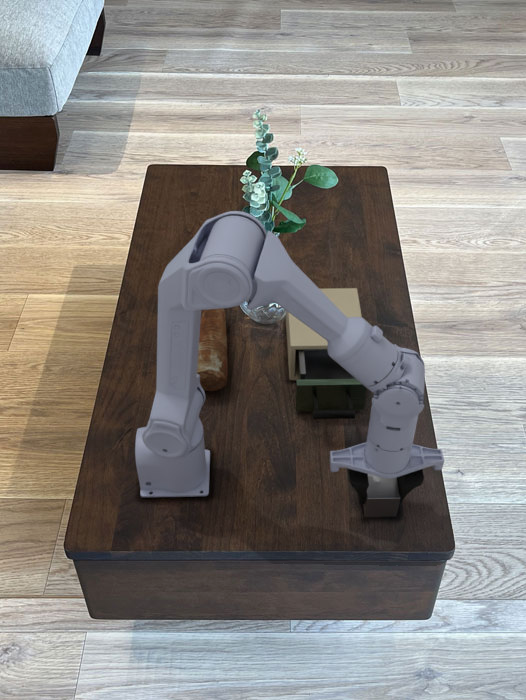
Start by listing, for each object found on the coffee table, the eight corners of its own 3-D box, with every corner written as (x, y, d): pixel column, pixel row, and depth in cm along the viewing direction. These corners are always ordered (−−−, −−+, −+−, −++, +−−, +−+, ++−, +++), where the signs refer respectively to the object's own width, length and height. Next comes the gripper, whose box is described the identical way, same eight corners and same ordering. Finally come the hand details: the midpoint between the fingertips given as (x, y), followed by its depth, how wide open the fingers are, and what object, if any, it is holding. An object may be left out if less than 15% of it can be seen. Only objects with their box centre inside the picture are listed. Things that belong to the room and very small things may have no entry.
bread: (186, 398, 124) (183, 373, 120) (200, 316, 138) (198, 292, 134) (226, 399, 124) (225, 374, 120) (236, 318, 137) (235, 293, 133)
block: (364, 517, 108) (367, 498, 105) (360, 491, 111) (363, 471, 108) (396, 517, 108) (400, 498, 105) (392, 490, 112) (395, 471, 108)
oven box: (362, 379, 127) (366, 344, 122) (289, 380, 127) (290, 346, 121) (353, 322, 137) (357, 287, 131) (286, 323, 136) (286, 288, 131)
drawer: (367, 435, 118) (371, 409, 113) (297, 436, 117) (298, 410, 113) (355, 352, 130) (358, 326, 126) (291, 353, 130) (292, 327, 126)
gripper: (442, 408, 102) (427, 473, 112) (330, 410, 102) (324, 475, 112) (453, 452, 97) (436, 515, 107) (335, 454, 97) (328, 517, 107)
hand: (379, 497), depth 109 cm, fingers closed on block, 4 cm apart
